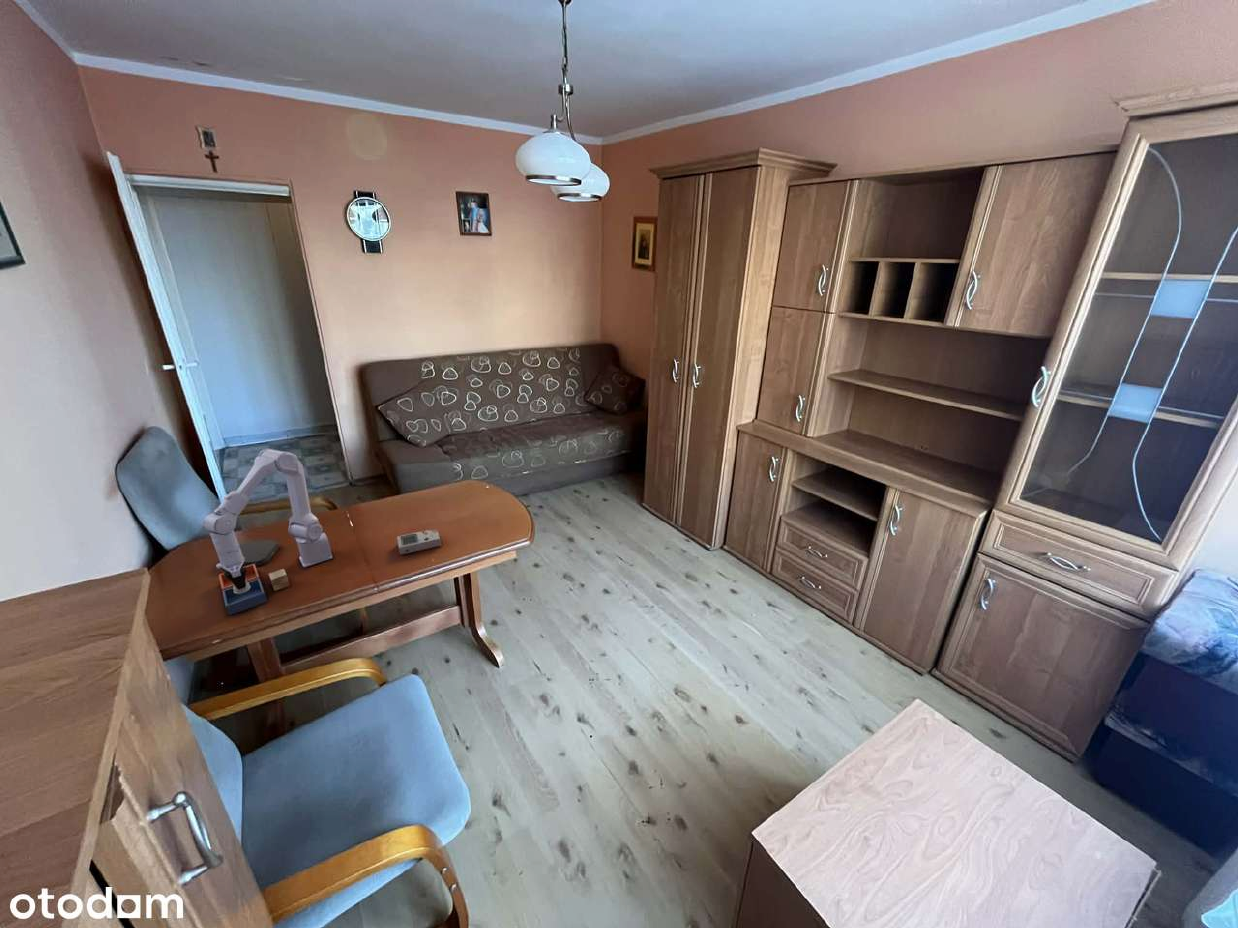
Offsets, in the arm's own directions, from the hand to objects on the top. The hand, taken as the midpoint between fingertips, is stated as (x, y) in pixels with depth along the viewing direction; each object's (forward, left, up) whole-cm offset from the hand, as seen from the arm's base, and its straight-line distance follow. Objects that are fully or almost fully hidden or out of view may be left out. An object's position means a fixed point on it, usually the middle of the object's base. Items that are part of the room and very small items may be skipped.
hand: (240, 585), depth 161 cm
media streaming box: (-5, -28, -6) cm, 29 cm away
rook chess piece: (0, 0, -2) cm, 2 cm away
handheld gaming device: (-55, +4, -6) cm, 55 cm away
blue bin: (0, 0, -6) cm, 6 cm away
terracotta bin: (0, -11, -6) cm, 13 cm away
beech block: (-10, -2, -6) cm, 12 cm away
